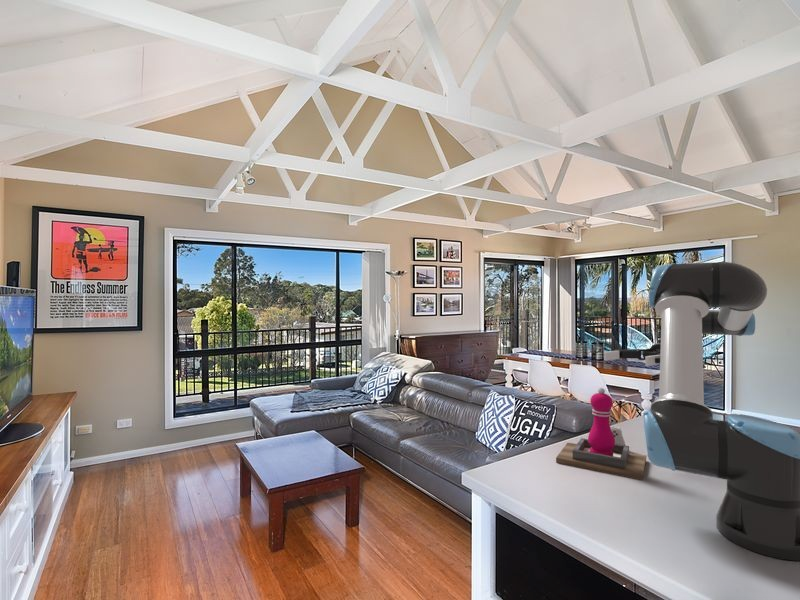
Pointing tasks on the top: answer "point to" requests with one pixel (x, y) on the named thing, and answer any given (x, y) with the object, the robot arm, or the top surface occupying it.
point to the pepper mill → (601, 424)
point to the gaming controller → (618, 435)
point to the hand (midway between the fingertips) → (624, 358)
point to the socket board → (603, 459)
